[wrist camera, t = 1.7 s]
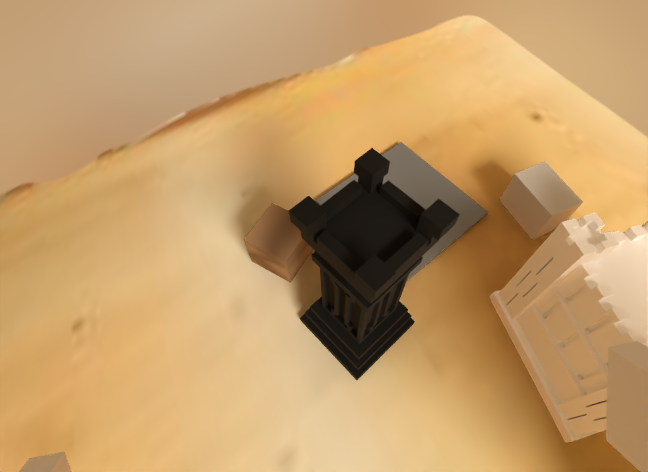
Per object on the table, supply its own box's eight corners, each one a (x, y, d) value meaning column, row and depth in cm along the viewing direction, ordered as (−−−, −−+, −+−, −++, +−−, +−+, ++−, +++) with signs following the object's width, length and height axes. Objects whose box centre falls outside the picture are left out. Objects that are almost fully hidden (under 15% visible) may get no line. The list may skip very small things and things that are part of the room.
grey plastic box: (498, 200, 50) (514, 173, 45) (526, 188, 50) (544, 161, 46) (531, 240, 47) (551, 215, 43) (560, 227, 48) (582, 202, 43)
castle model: (607, 262, 45) (717, 174, 32) (702, 394, 38) (889, 350, 26) (488, 297, 44) (554, 219, 31) (564, 442, 37) (691, 421, 24)
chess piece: (300, 320, 43) (279, 210, 25) (356, 271, 45) (371, 141, 28) (356, 380, 40) (376, 301, 22) (413, 324, 42) (469, 214, 25)
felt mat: (315, 203, 50) (315, 200, 49) (400, 145, 54) (401, 142, 54) (399, 286, 44) (400, 284, 44) (486, 214, 49) (488, 212, 48)
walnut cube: (252, 261, 46) (243, 239, 42) (277, 228, 48) (272, 203, 44) (290, 282, 45) (286, 261, 40) (314, 247, 47) (313, 223, 43)
